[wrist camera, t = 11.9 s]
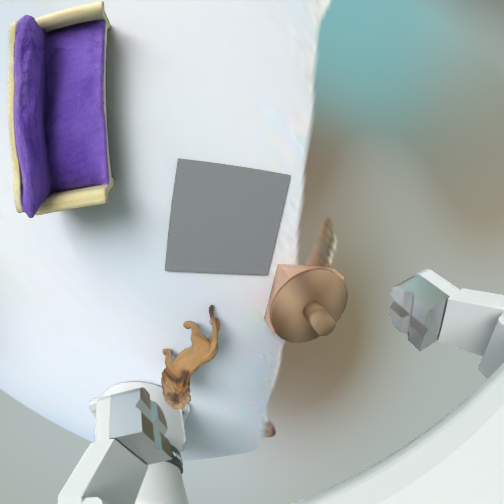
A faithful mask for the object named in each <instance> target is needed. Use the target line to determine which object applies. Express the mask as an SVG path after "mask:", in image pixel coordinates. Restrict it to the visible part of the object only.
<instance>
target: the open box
mask: <svg viewBox="0 0 504 504" xmlns="http://www.w3.org/2000/svg"><path fill="white" fill-rule="evenodd" d="M314 268H324V269H328V270H331V271H333V272H334V273H336V274H337V275H338V276H339V277H340V278H341V279H342V280H343V279H344V277H343V276H342V275H341V274H340V273H338V272H337V271H336V270H335V269H334V268H333V267H328V266H307V265H287V264H278V267H277V271H276V275H275V279H274V283H273V287H272V291H271V294H270V298H269V302H268V306H267V310H266V314H265V317H264V319H265V320H266V322H267V324H268V325H269V327H270V329H271V331H272V332H275V330H274V329H273V327H272V325H271V322H270V318H269V312H270V307H271V303H272V301H273V298H274V297H275V295H276V293H277V292H278V290H279V289H280V288H281V287H282V286H283V285H284V284H285V283H286V282H287V281H288V280H289V279H291V278H292V277H293V276H295V275H297V274H298V273H301V272H303V271H306V270H309V269H314Z"/></svg>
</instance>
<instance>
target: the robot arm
mask: <svg viewBox="0 0 504 504" xmlns="http://www.w3.org/2000/svg"><path fill="white" fill-rule="evenodd" d="M391 298H392V299H393V300H394V301H393V303H392V305H391V307H390V317H391V320H392V323H393V324H394V326H395V327H396V328H397V329H398V330H399V331H400V332H403V333H406V334H408V340H409V341H410V342H411V343H412V344H413V345H414V346H415V347H416V348H417V349H418V350H419V351H421V350H423V349H424V348H426V347H428V346H429V345H431V344H432V343H434V342H435V341H437V340H438V341H440V342H443V343H446V344H448V345H451V346H454V347H457V348H460V349H463V350H466V351H469V352H472V353H475V354H478V355H481V356H483V358H482V360H481V362H480V364H479V371H480V372H481V373H482V374H483V375H484V376H485V377H486V378H487V380H486V381H485V382H484V383H483V384H482V385H481V386H479V387H478V388H477V389H476V390H475V391H474V392H473V393H472V394H471V395H470V396H469V397H467V398H466V399H465V400H464V401H463V402H462V403H461V404H460V405H458V406H457V407H456V408H455V409H453V410H452V411H451V412H450V413H449V414H447V415H446V416H445V417H444V418H442V419H441V420H440V421H438V422H437V423H436V424H435V425H433V426H432V427H431V428H429V429H428V430H427V431H425V432H424V433H422V434H421V435H420V436H418V437H417V438H415V439H414V440H412V441H411V442H409V443H408V444H407V445H405V446H403V447H402V448H401V449H399V450H397V451H396V452H394V453H393V454H391V455H389V456H388V457H386V458H384V459H383V460H381V461H379V462H378V463H376V464H374V465H373V466H371V467H369V468H367V469H365V470H363V471H362V472H360V473H358V474H356V475H354V476H352V477H350V478H348V479H346V480H344V481H342V482H340V483H338V484H336V485H334V486H332V487H330V488H327V489H325V490H323V491H321V492H319V493H316V494H314V495H311V496H309V497H307V498H304V499H302V500H299V501H297V502H294V503H291V504H504V295H500V294H494V293H487V292H482V291H476V290H470V289H464V288H462V289H461V290H459V289H458V288H456V287H455V286H454V285H452V284H451V283H449V282H448V281H446V280H445V279H443V278H441V277H440V276H439V275H437V274H436V273H434V272H433V271H431V270H429V269H425V270H423V271H421V272H419V273H417V274H416V275H414V276H412V277H410V278H408V279H407V280H405V281H403V282H401V283H399V284H398V285H396V286H394V287H393V288H392V290H391ZM89 408H90V410H91V412H92V413H93V415H94V417H95V418H96V424H95V442H91V444H90V445H89V447H88V448H87V450H86V451H85V453H84V455H83V456H82V458H81V459H80V461H79V463H78V464H77V466H76V467H75V469H74V471H73V472H72V474H71V476H70V477H69V479H68V481H67V483H66V484H65V486H64V487H63V489H62V491H61V492H60V494H59V496H58V504H189V503H188V499H187V496H186V492H185V488H184V484H183V480H182V475H181V474H182V473H183V467H182V465H183V463H182V459H181V456H180V452H179V451H182V450H184V445H185V444H186V436H185V429H184V424H185V421H186V419H187V417H188V415H189V412H190V404H188V403H187V404H186V406H185V407H184V408H183V409H178V410H176V409H175V410H173V409H172V407H170V406H169V405H168V404H167V402H165V401H164V396H163V389H162V387H160V386H157V385H154V384H150V383H144V382H126V383H120V384H117V385H114V386H112V387H110V388H108V389H107V390H106V391H105V392H104V393H103V394H102V395H101V396H100V397H98V398H96V399H93V400H91V401H90V402H89Z"/></svg>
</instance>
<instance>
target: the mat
mask: <svg viewBox="0 0 504 504" xmlns="http://www.w3.org/2000/svg"><path fill="white" fill-rule="evenodd" d="M289 181H290V175H286V174H281V173H275V172H269V171H264V170H258V169H251V168H245V167H239V166H232V165H225V164H218V163H210V162H203V161H195V160H186V159H178V163H177V170H176V177H175V184H174V191H173V198H172V206H171V215H170V223H169V232H168V242H167V253H166V264H165V271H181V272H201V273H223V274H247V275H268V271H269V267H270V263H271V259H272V254H273V250H274V246H275V242H276V237H277V233H278V229H279V225H280V220H281V216H282V212H283V207H284V203H285V198H286V194H287V190H288V185H289Z"/></svg>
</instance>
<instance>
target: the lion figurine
mask: <svg viewBox="0 0 504 504" xmlns="http://www.w3.org/2000/svg"><path fill="white" fill-rule="evenodd" d="M209 314H210V318H211V320H210V323H211V325H212V328H213V331H212V333H211V335H210V337H209V339H207V338H206V337H205V336H204V335H203V334H202V333H201V332H200V331H199V326H198V325H197V324H195V323H193V322H190V321H186V322H184V324H183V326H184V327H185V328H186V329H189V328H191V329H192V334H191V341H192V347H189V348H186V349H184V350H183V351H181V352H180V353H179V354H178V356H177V357H176V359H175V360H173V359H172V356H171V355H172V352H171V351H170V350H169V349H163V354H164V355H166V358H165V364H166V368H165V369H164V371H163V372H162V378H161V379H162V381H161V383H162V389H163V396H164V401H165V402H167V404H168V405H169V406H170V407H172V409H173V410H175V409H176V410H178V409H183V408H184V407H185V406H186V404H187V403H189V402H190V401H191V396H190V388H189V386H190V376H191V375H192V374H193V373H194V372H195V371H196V370H197V369H198V368H199V366H200V365H202V364H203V363H206V362H208V361H210V360H211V359H213V358H214V356H215V355H216V353H217V351H218V343H217V339H218V331H219V329H220V324H219V320H218V319H217V318H215V317H214V315H213V305H211V306H210V307H209Z"/></svg>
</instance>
